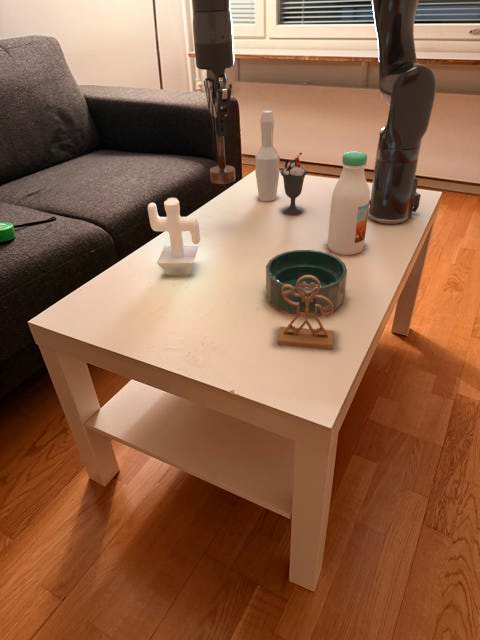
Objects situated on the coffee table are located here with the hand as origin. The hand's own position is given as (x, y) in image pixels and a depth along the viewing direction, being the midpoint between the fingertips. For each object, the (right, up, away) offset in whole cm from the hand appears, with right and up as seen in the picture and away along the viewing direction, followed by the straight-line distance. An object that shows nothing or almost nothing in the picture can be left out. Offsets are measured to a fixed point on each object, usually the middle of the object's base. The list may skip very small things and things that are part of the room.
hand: (219, 134), depth 98 cm
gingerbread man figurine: (+15, -43, -23) cm, 51 cm away
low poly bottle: (+12, -6, +28) cm, 31 cm away
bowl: (+16, -35, -13) cm, 41 cm away
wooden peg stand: (0, -8, +6) cm, 10 cm away
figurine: (-8, -29, -3) cm, 31 cm away
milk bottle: (+27, -24, +3) cm, 36 cm away
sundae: (+18, -12, +20) cm, 29 cm away
